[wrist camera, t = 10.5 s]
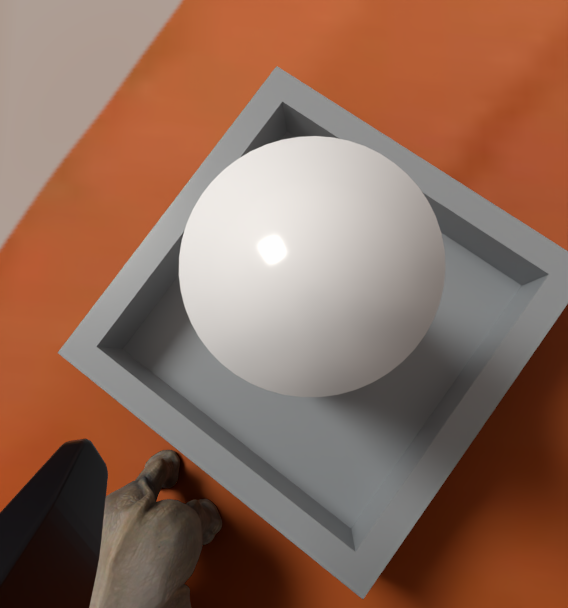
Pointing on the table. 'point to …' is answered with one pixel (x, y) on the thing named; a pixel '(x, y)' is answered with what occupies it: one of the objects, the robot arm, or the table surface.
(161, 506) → the rhino figurine
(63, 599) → the robot arm
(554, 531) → the table surface
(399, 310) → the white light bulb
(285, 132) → the parts tray
